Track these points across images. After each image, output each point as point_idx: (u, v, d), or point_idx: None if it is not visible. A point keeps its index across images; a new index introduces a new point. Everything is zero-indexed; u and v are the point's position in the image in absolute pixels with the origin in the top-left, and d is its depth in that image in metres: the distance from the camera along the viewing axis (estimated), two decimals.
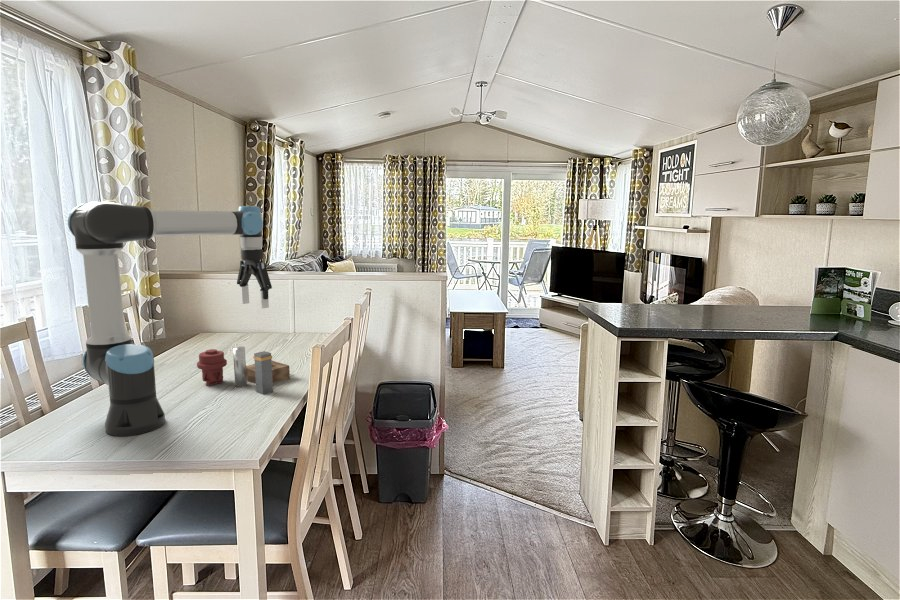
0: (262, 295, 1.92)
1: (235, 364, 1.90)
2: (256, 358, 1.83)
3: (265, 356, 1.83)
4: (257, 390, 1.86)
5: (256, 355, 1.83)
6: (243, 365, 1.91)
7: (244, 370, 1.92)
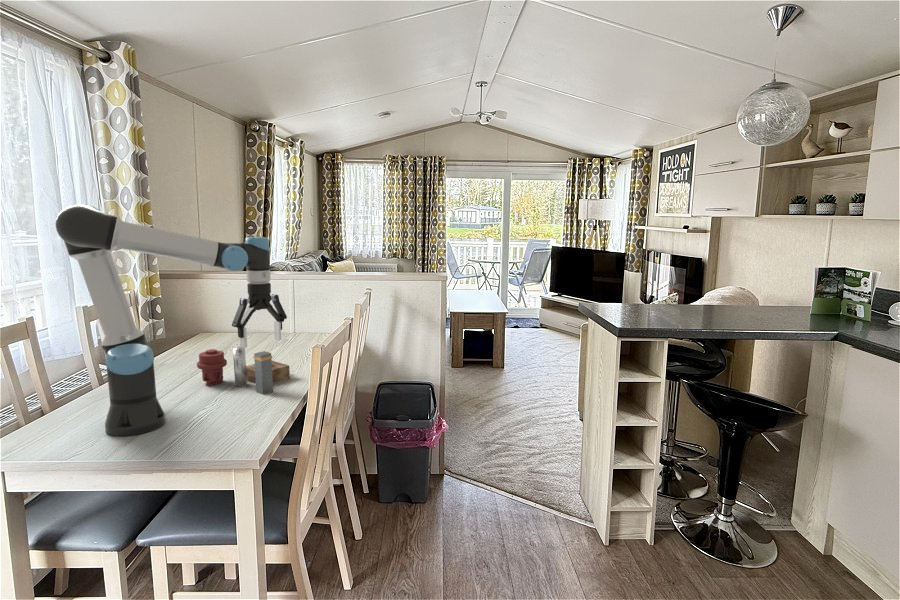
0: None
1: (235, 364, 1.90)
2: (256, 358, 1.83)
3: (265, 356, 1.83)
4: (257, 390, 1.86)
5: (256, 355, 1.83)
6: (243, 365, 1.91)
7: (244, 370, 1.92)
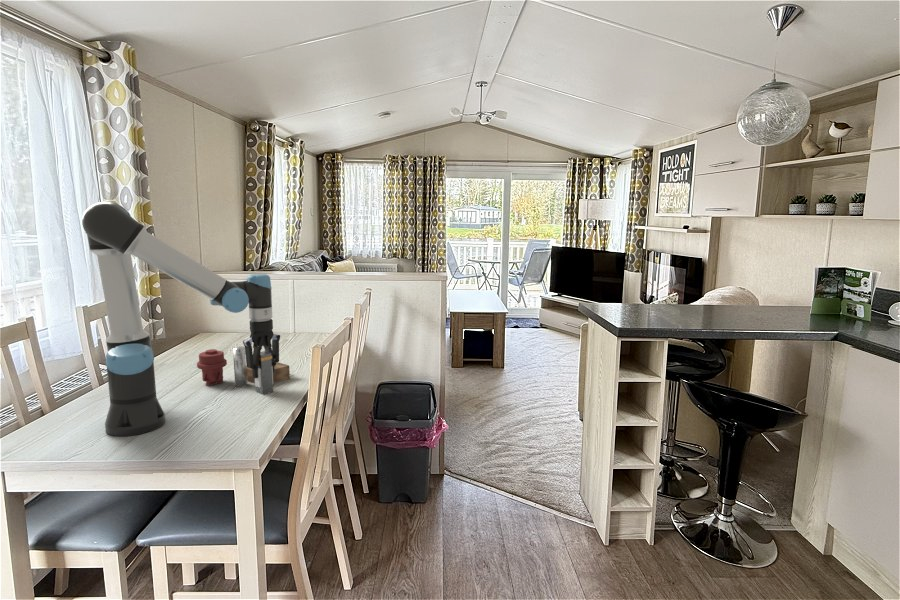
0: None
1: (235, 364, 1.90)
2: None
3: (265, 356, 1.83)
4: (257, 390, 1.86)
5: None
6: (243, 365, 1.91)
7: (244, 370, 1.92)
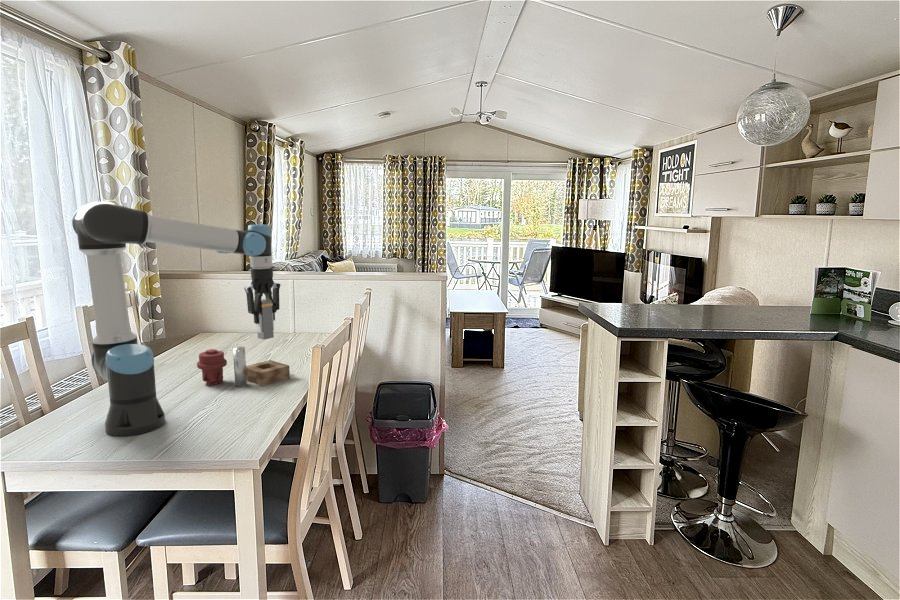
0: None
1: (235, 364, 1.90)
2: None
3: (266, 303, 1.92)
4: (258, 336, 1.95)
5: None
6: (243, 365, 1.91)
7: (244, 370, 1.92)
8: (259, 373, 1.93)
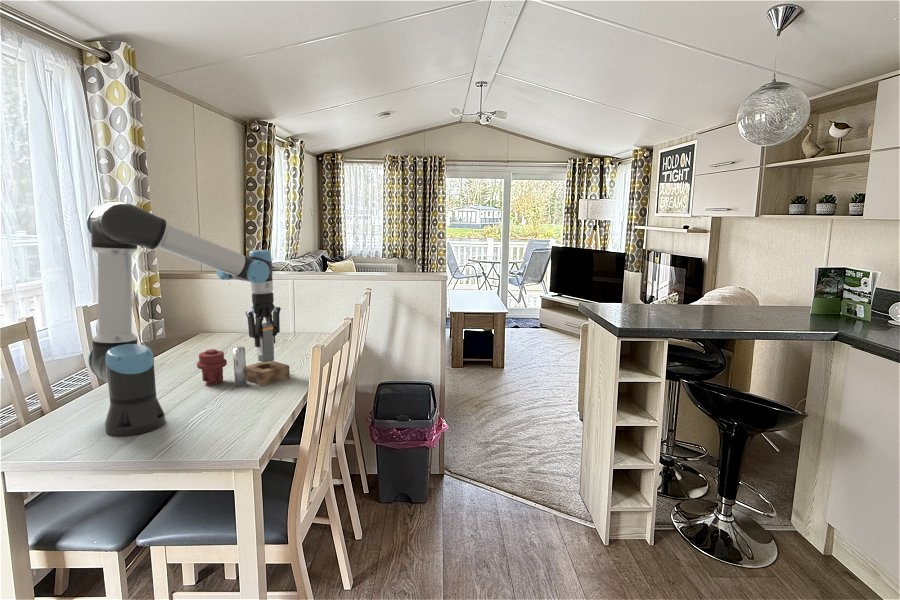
0: None
1: (235, 364, 1.90)
2: None
3: (266, 326, 1.96)
4: (259, 359, 1.99)
5: None
6: (243, 365, 1.91)
7: (244, 370, 1.92)
8: (259, 373, 1.93)
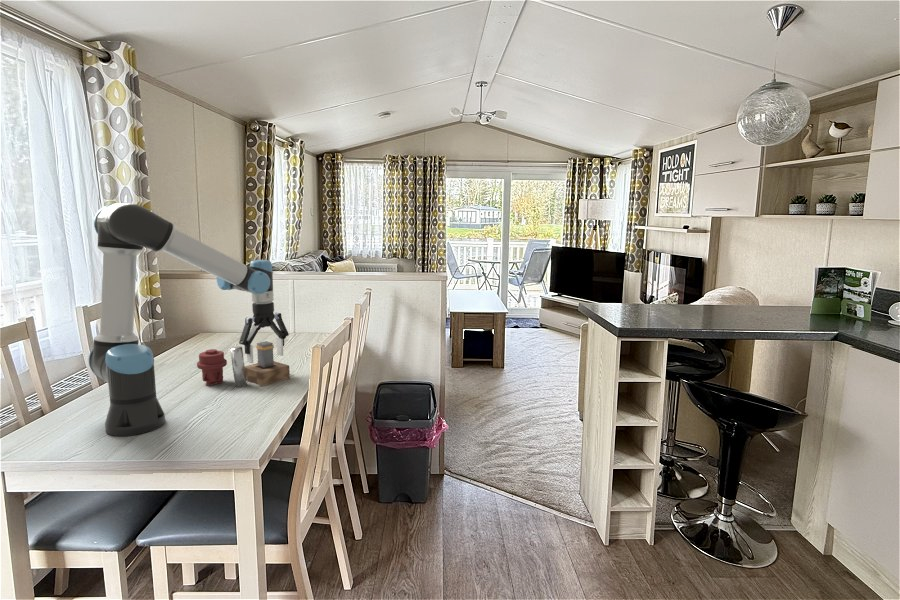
0: None
1: (234, 364, 1.90)
2: (259, 347, 1.97)
3: (267, 346, 1.97)
4: None
5: (259, 345, 1.97)
6: (241, 365, 1.91)
7: (243, 370, 1.92)
8: (259, 373, 1.93)
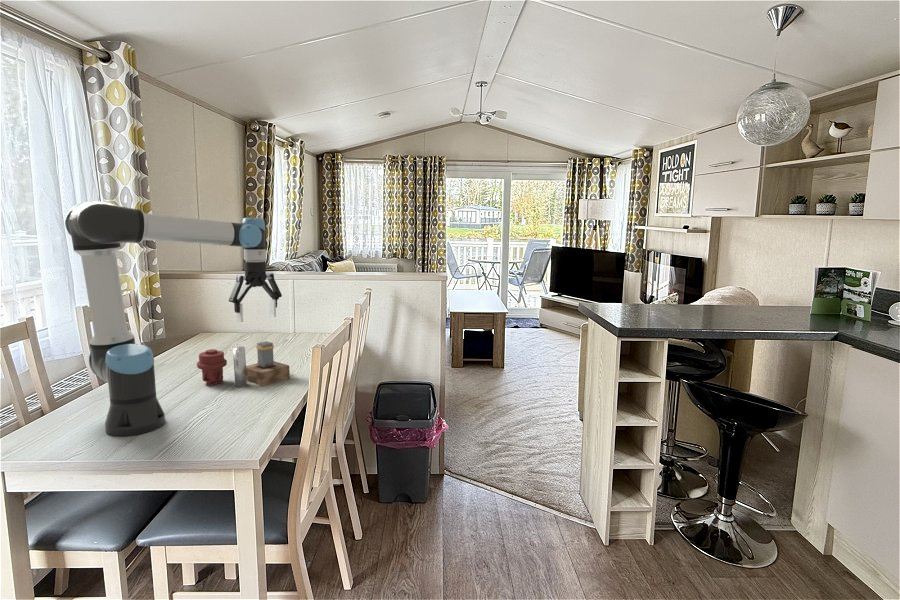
0: None
1: (235, 364, 1.90)
2: (259, 347, 1.97)
3: (267, 346, 1.97)
4: None
5: (259, 345, 1.98)
6: (243, 365, 1.91)
7: (244, 370, 1.92)
8: (259, 373, 1.93)
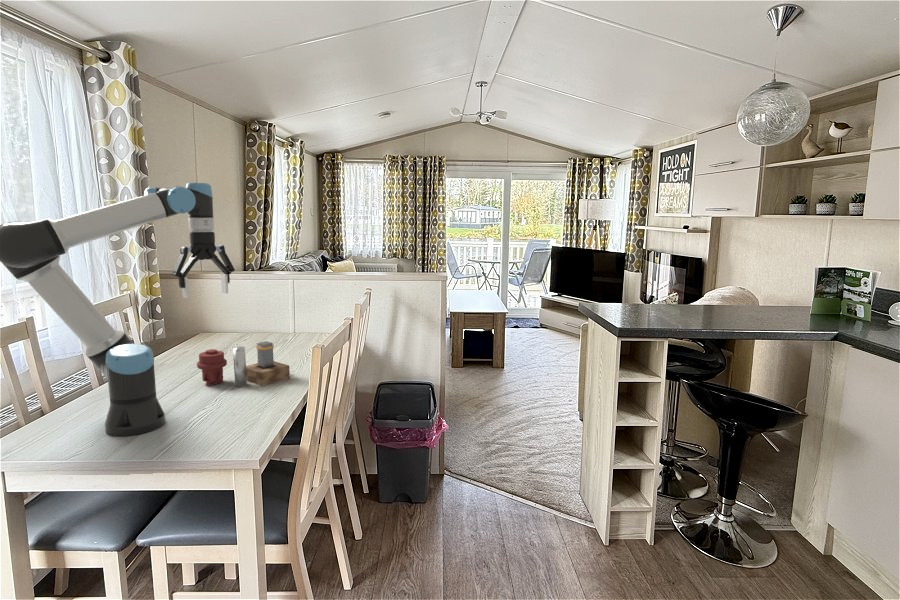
0: None
1: (235, 364, 1.90)
2: (259, 347, 1.97)
3: (267, 346, 1.97)
4: None
5: (259, 345, 1.98)
6: (243, 365, 1.91)
7: (244, 370, 1.92)
8: (259, 373, 1.93)
